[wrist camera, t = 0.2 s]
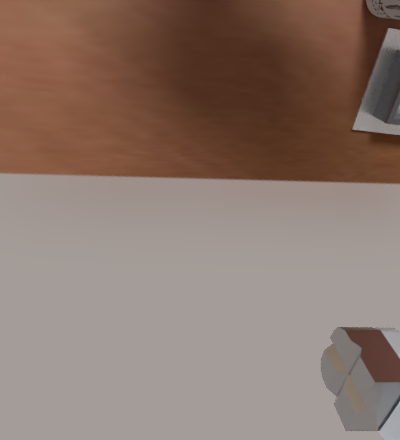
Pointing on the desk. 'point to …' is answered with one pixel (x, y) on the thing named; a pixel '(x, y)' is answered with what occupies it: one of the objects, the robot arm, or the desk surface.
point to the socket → (382, 90)
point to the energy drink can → (384, 8)
